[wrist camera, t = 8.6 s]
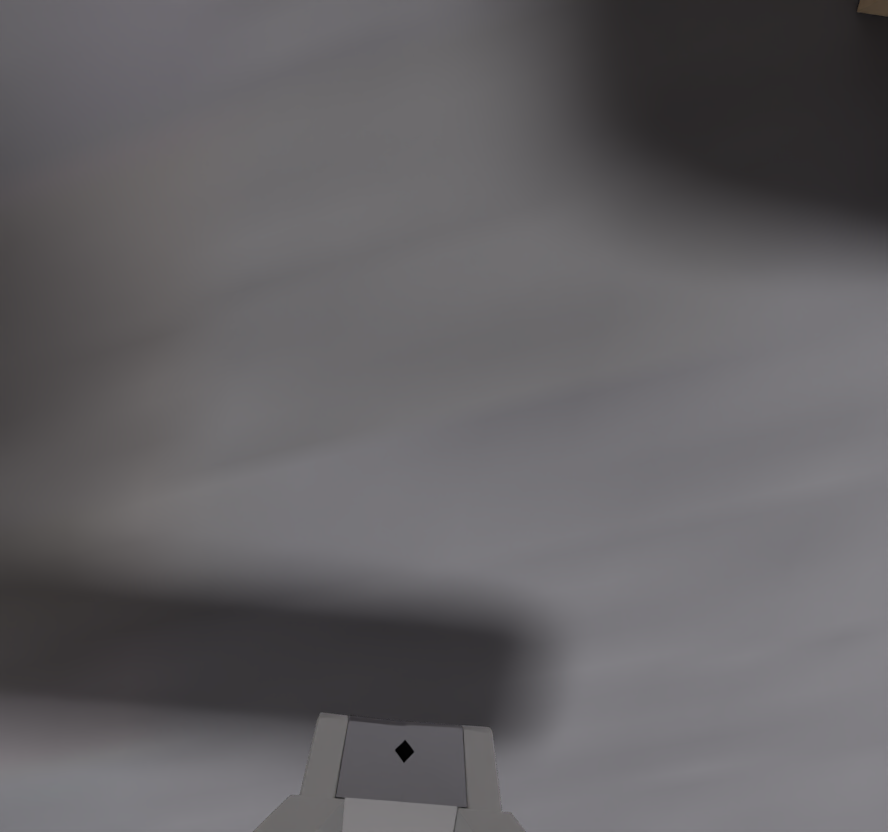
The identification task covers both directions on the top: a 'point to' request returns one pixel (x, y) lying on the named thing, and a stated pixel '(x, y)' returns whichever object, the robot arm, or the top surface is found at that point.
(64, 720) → the top surface
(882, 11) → the bridge
